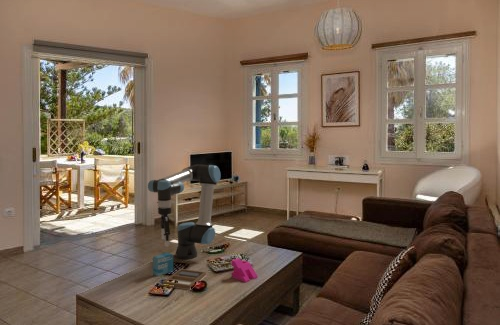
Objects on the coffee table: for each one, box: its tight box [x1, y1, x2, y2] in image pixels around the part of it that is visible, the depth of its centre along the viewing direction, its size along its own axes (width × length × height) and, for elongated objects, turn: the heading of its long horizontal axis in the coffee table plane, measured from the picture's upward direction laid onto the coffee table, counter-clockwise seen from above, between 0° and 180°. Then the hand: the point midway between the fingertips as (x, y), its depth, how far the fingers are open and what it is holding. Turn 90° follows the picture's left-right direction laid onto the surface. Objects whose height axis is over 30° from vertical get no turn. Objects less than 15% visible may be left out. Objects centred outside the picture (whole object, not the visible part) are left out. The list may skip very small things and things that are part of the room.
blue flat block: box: [152, 252, 174, 277], centre depth 233 cm, size 12×4×12 cm, turn 138°
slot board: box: [162, 268, 208, 291], centre depth 222 cm, size 22×18×3 cm
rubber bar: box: [178, 271, 200, 278], centre depth 227 cm, size 4×12×2 cm, turn 72°
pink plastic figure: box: [231, 258, 259, 283], centre depth 229 cm, size 12×10×10 cm
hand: (165, 242), depth 223 cm, fingers open, 13 cm apart
